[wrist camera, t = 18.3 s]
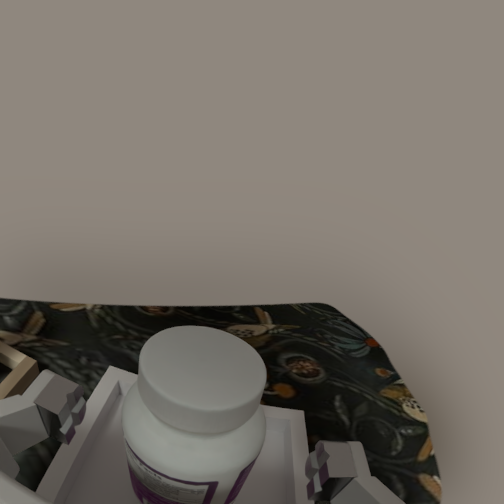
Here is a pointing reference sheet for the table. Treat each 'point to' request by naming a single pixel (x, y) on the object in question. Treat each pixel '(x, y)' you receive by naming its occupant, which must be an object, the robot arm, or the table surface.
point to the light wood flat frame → (16, 371)
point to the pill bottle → (194, 417)
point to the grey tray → (116, 467)
